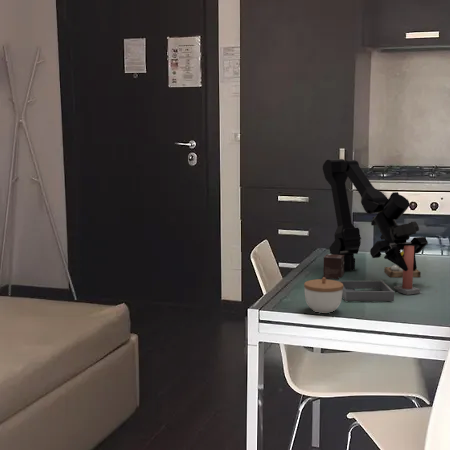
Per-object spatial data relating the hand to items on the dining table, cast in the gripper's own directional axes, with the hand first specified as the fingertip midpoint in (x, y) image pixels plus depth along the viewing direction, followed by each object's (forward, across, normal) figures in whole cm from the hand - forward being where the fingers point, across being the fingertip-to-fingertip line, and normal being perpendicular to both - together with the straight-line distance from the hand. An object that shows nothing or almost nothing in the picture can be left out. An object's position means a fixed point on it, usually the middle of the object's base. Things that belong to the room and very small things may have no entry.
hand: (411, 269), depth 216 cm
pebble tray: (-8, +12, +18) cm, 24 cm away
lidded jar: (+9, -35, +2) cm, 36 cm away
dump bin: (+3, -14, +8) cm, 17 cm away
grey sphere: (-10, +11, +19) cm, 24 cm away
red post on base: (+4, 0, +6) cm, 7 cm away
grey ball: (-8, +12, +17) cm, 22 cm away
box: (-15, -8, +26) cm, 31 cm away
